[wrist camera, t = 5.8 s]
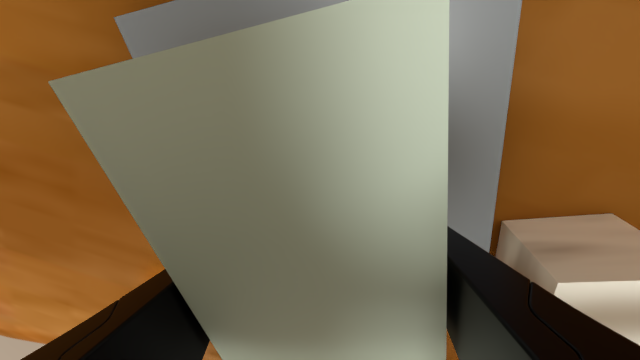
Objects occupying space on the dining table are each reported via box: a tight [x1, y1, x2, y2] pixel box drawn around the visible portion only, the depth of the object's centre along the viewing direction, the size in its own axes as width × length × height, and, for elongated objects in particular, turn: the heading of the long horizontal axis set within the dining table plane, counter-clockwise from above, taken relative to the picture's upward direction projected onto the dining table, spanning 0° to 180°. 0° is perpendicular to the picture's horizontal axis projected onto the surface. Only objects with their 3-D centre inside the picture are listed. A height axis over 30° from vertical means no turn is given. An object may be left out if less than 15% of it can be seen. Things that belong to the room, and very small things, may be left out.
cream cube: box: [495, 213, 640, 345], centre depth 15 cm, size 6×6×5 cm
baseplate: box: [114, 0, 522, 253], centre depth 15 cm, size 18×18×1 cm
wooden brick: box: [49, 0, 449, 360], centre depth 8 cm, size 12×6×4 cm, turn 12°
